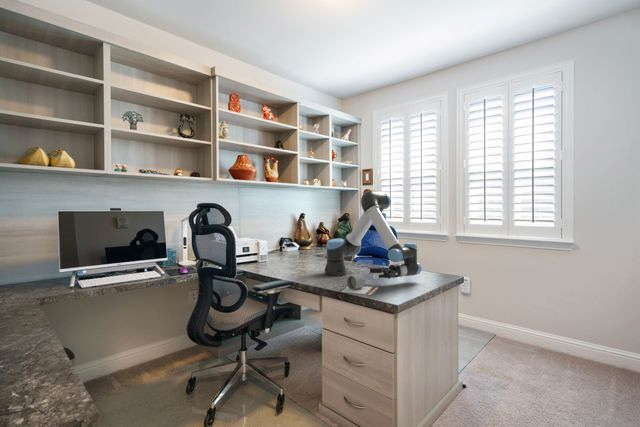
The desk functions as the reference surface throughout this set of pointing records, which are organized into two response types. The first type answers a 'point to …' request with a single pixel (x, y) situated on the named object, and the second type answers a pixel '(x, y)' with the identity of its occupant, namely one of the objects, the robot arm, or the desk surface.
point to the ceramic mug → (355, 282)
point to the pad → (358, 290)
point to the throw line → (373, 291)
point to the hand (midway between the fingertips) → (366, 274)
